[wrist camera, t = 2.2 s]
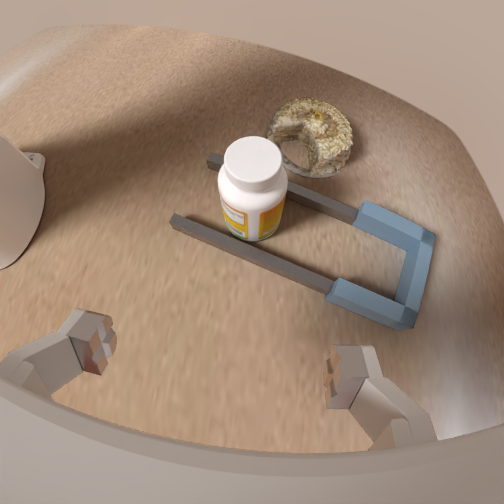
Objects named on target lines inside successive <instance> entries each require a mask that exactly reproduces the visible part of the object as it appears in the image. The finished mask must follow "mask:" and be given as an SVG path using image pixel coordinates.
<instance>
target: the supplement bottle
mask: <svg viewBox="0 0 504 504" xmlns="http://www.w3.org/2000/svg"><path fill="white" fill-rule="evenodd" d="M287 186H288V177H287V173H286V170H285V168H284V166H283V165H282V155H281V152H280V150H279V148H278V147H277V146H276V145H275V144H274V143H273V142H271V141H270V140H268V139H266V138H262V137H258V136H249V137H244V138H241V139H238V140H236V141H235V142H233V143H232V144H231V145H230V146H229V147H228V149H227V150H226V153H225V156H224V164H223V165H222V167H221V169H220V171H219V174H218V189H219V193H220V199H221V204H222V209H223V214H224V219H225V223H226V225H227V227H228V229H229V230H230V231H231V233H232V234H233V235H235V236H236V237H238V238H240V239H242V240H245V241H260V240H263V239H265V238H267V237H269V236H270V235H272V234H273V233H274V232H275V231H276V229H277V228H278V226H279V223H280V220H281V216H282V211H283V206H284V201H285V197H286V192H287Z"/></svg>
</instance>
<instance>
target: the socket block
mask: <svg viewBox="0 0 504 504" xmlns="http://www.w3.org/2000/svg"><path fill="white" fill-rule="evenodd" d="M358 210H359V212H358V215H357V219H356V220H355V222H354V223H353V224H352V226H354V227H356V228H359V229H361V230H363V231H365V232H367V233H370V234H372V235H374V236H376V237H378V238H380V239H382V240H385V241H387V242H389V243H391V244H393V245H395V246H397V247H399V248H401V249H403V250H406V251H407V253H406V257H405V261H404V265H403V269H402V273H401V277H400V280H399V284H398V288H397V291H396V295H395V298H394V301H392V300H390V299H388V298H386V297H383V296H381V295H379V294H376V293H374V292H372V291H370V290H367V289H365V288H363V287H360V286H358V285H356V284H353V283H351V282H349V281H347V280H344V279H342V278H338V279H337V280H336V281H335V283H334V285H333V288H332V291H331V292H330V293H329V294H328V295H327V296H326V299H325V300H326V301H328V302H331V303H333V304H335V305H338V306H340V307H342V308H345V309H347V310H350V311H352V312H354V313H357V314H359V315H362V316H364V317H366V318H369V319H371V320H374V321H376V322H378V323H381V324H383V325H386V326H388V327H391V328H393V329H395V330H398V331H400V330H406V329H411V328H414V325H415V322H416V318H417V315H418V311H419V307H420V303H421V300H422V296H423V292H424V288H425V283H426V279H427V275H428V270H429V265H430V261H431V256H432V250H433V245H434V239H435V234H434V233H432V232H430V231H428V230H427V229H425V228H423V227H421V226H419V225H417V224H415V223H413V222H411V221H409V220H407V219H405V218H403V217H401V216H399V215H397V214H395V213H393V212H391V211H389V210H387V209H385V208H383V207H380V206H378V205H376V204H374V203H372V202H370V201H368V200H364V202H363V203H362V205H361V206H360V208H359V209H358Z"/></svg>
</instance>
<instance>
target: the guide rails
mask: <svg viewBox="0 0 504 504" xmlns="http://www.w3.org/2000/svg"><path fill="white" fill-rule="evenodd" d="M207 164H208V168H210V169H213V170H215V171H218V172H219V171H220V169H221V167H222V165H223V164H224V157H223V156H220V155H217V154H214V153H211V154H210V156H209V157H208V159H207ZM286 198H289V199H291V200H293V201H296V202H298V203H301V204H303V205H306V206H308V207H310V208H313V209H315V210H317V211H320V212H322V213H324V214H327V215H329V216H331V217H334V218H336V219H338V220H341V221H343V222H345V223H347V224H350V225H352V224H353V223H354V222H355V220H356V219H357V215H358V212H359V210H356V209H354V208H352V207H350V206H347V205H345V204H343V203H341V202H338V201H336V200H334V199H331V198H329V197H327V196H324V195H322V194H320V193H317V192H315V191H312V190H310V189H307V188H305V187H303V186H300V185H298V184H295V183H293V182H290V181H288V186H287V192H286ZM169 223H170V224H171V226H172V228H173V229H175V230H178V231H180V232H182V233H184V234H187V235H189V236H191V237H194V238H196V239H198V240H200V241H203V242H205V243H207V244H210V245H212V246H214V247H216V248H219V249H221V250H223V251H226V252H228V253H230V254H232V255H235V256H237V257H239V258H242V259H244V260H246V261H249V262H251V263H253V264H256V265H258V266H260V267H262V268H265V269H267V270H269V271H272V272H274V273H276V274H279V275H281V276H283V277H286V278H288V279H290V280H293V281H295V282H297V283H300V284H302V285H304V286H307V287H309V288H311V289H314V290H316V291H318V292H321V293H323V294H326V295H328V294H329V293H330V292H331V291H332V288H333V285H334V283H335V281H333V280H330V279H328V278H326V277H323V276H321V275H319V274H316V273H314V272H312V271H309V270H307V269H305V268H302V267H300V266H298V265H295V264H293V263H291V262H288V261H286V260H284V259H281V258H279V257H276V256H274V255H272V254H269V253H267V252H265V251H262V250H260V249H258V248H255V247H253V246H251V245H248V244H246V243H244V242H241V241H239V240H237V239H234V238H232V237H229V236H227V235H225V234H222V233H220V232H218V231H215V230H213V229H211V228H208V227H206V226H204V225H201V224H199V223H196V222H194V221H192V220H189V219H187V218H185V217H182V216H180V215H177V214H175V213H174V215H173V217H172V218H171V220H170V222H169Z"/></svg>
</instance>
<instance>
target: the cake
mask: <svg viewBox="0 0 504 504" xmlns="http://www.w3.org/2000/svg"><path fill="white" fill-rule="evenodd" d="M353 136H354V135H353V131H352V128H351V127H350V123H349V121H348V120H347V118H346V117H345V115H343V114H341V113H340V111H339V109H337V108H336V107H334V106H333V105H330V104H329V103H327V102H324V101H321V100H320V101H319V100H318V99H316V100H315V99H313V97H311V98H301V99H294V100H291V101H290V102H287V103H285V104H284V105H282V107H280V108H279V111H278V112H276V114H274V117H273V119H272V123H271V124H270V127H269V128H268V132H267V138H266V139H268V140H270V141H271V142H273V143H274V144H275V145H276V146H277V147H278V148H279V150H280V152H281V155H282V165H283V166H284V167H285V168H287V169H290V170H291V171H292V172H294V173H297V174H299V175H301V176H306V177H309V178H311V177H312V178H321V177H322V178H326V177H331V176H333V175H336V174H338V173H339V172H340V168H341V167H344V164H345V163H346V160H348V159H349V157H350V156H349V155H350V152H351V145H354V144H353ZM294 139H298V140H299V143H300V144H301V145H303V146H306V147H307V148H308V154H309V155H308V157H309V165H310V166H309V170H306V169H304V168H301V167H299V166H298V165H296V164H294V163H293V162H292V161H291V160H290V159H288V158H287V157H286V156H285V154H284V153H283V152H282V150H281V148H280V145H279V143H282V142H284V141H290V140H292V141H293V140H294ZM335 171H336V173H334V172H335Z"/></svg>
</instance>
